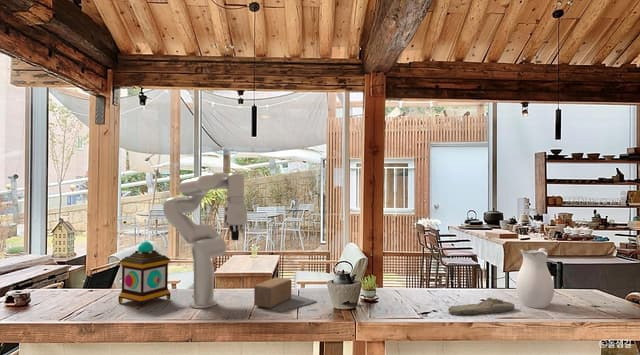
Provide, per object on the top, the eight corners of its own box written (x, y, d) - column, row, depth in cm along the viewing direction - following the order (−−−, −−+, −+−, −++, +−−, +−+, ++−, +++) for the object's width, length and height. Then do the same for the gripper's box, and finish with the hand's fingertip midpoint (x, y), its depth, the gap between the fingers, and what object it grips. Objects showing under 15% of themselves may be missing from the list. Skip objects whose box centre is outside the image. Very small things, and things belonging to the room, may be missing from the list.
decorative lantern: (140, 310, 192) (141, 245, 193) (113, 303, 202) (114, 241, 203) (174, 299, 209) (175, 240, 210) (148, 294, 219) (149, 237, 220)
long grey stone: (443, 314, 196) (455, 322, 186) (443, 303, 195) (455, 310, 186) (505, 304, 205) (520, 311, 196) (505, 294, 205) (519, 300, 196)
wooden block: (271, 308, 194) (292, 298, 212) (271, 287, 194) (292, 278, 212) (253, 305, 198) (275, 296, 216) (253, 284, 198) (275, 276, 216)
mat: (256, 304, 203) (256, 303, 203) (292, 295, 220) (292, 294, 220) (280, 312, 190) (280, 311, 190) (316, 302, 208) (316, 301, 208)
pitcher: (545, 312, 194) (545, 253, 195) (509, 304, 207) (509, 248, 207) (564, 303, 210) (564, 248, 210) (529, 296, 223) (529, 244, 223)
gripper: (226, 200, 183) (225, 242, 183) (253, 200, 194) (253, 239, 193) (216, 200, 188) (216, 240, 188) (244, 199, 199) (243, 237, 199)
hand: (235, 239), depth 191 cm, fingers closed
